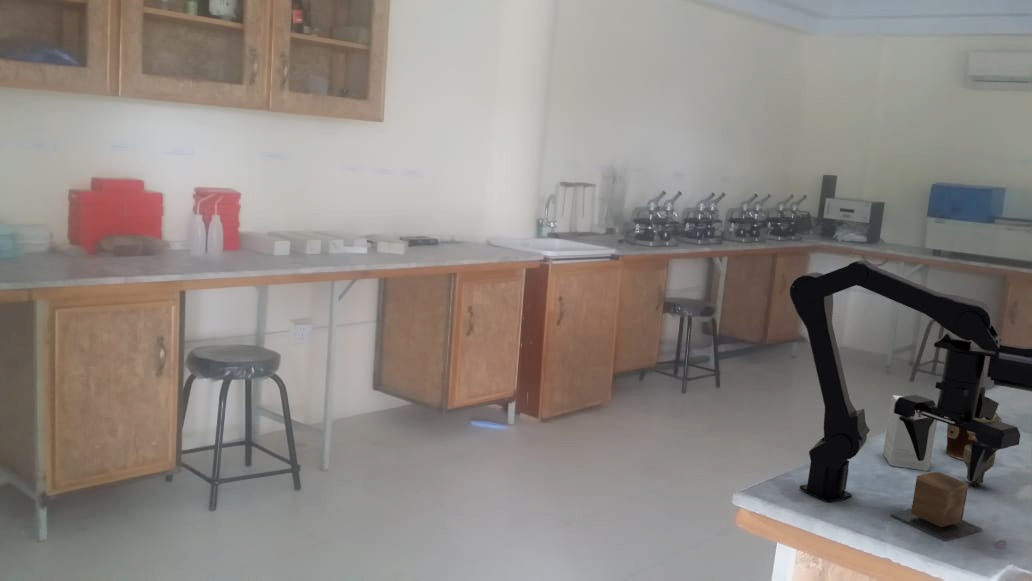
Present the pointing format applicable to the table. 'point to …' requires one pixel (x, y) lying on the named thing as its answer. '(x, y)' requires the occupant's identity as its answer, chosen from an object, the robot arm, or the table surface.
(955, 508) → the cardboard carton
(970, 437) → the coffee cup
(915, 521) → the gray square base stand
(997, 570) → the table surface
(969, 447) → the light bulb
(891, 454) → the supplement box
